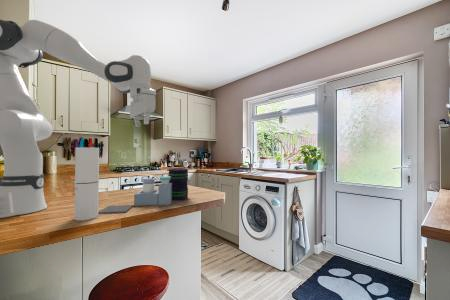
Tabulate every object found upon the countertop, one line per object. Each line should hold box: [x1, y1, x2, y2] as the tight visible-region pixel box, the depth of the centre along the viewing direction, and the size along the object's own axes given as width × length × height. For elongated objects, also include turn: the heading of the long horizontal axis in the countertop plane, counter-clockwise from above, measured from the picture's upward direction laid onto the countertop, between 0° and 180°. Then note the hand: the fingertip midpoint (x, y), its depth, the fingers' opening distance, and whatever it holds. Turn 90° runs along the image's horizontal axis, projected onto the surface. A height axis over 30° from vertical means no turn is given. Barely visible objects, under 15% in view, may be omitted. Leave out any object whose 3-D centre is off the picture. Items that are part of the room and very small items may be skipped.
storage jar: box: [167, 168, 189, 202], centre depth 105 cm, size 10×10×15 cm
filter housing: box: [133, 182, 172, 207], centre depth 96 cm, size 16×11×9 cm
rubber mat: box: [98, 204, 134, 215], centre depth 84 cm, size 10×10×1 cm
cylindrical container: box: [73, 146, 100, 221], centre depth 74 cm, size 7×7×25 cm
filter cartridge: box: [142, 177, 156, 193], centre depth 96 cm, size 5×5×11 cm
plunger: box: [159, 175, 171, 185], centre depth 94 cm, size 4×4×7 cm
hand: (142, 125), depth 91 cm, fingers open, 8 cm apart
